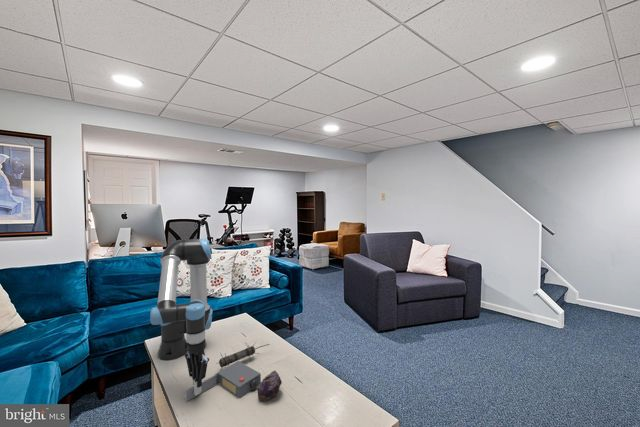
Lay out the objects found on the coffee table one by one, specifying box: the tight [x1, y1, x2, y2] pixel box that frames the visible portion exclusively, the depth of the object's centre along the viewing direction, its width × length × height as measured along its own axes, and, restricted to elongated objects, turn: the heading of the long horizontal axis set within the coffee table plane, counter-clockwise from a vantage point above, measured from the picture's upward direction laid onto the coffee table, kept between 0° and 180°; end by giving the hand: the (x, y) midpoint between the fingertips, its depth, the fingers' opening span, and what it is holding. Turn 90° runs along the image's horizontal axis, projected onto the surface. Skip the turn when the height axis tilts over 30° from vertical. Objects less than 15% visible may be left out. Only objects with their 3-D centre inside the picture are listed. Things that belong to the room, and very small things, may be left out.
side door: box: [184, 372, 219, 402], centre depth 125 cm, size 15×2×5 cm, turn 143°
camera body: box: [216, 360, 262, 399], centre depth 130 cm, size 19×12×6 cm, turn 53°
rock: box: [256, 370, 283, 402], centre depth 123 cm, size 12×9×10 cm
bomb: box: [215, 343, 270, 371], centre depth 149 cm, size 11×10×30 cm
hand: (197, 393), depth 122 cm, fingers closed
